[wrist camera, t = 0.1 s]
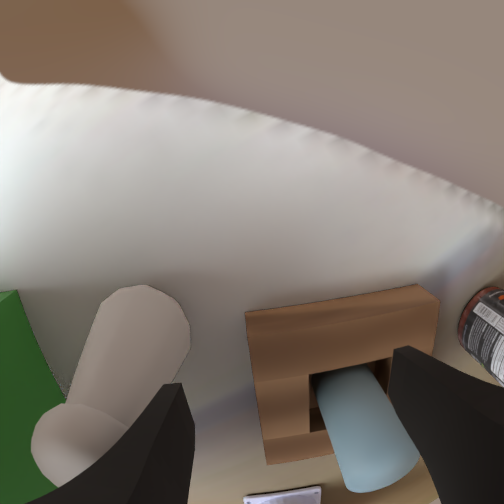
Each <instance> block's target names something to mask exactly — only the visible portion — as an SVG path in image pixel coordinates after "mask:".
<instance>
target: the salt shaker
mask: <svg viewBox="0 0 504 504" xmlns="http://www.w3.org/2000/svg"><path fill="white" fill-rule="evenodd" d="M190 349H191V339H190V325H189V322H188V320H187V318H186V316H185V314H184V312H183V310H182V308H181V306H180V305H179V304H178V302H177V301H176V300H175V299H174V298H172V297H170V296H168V295H166V294H164V293H163V292H162V291H159V290H157V289H155V288H153V287H151V286H149V285H137V286H131V287H125V288H120V289H118V290H117V291H115V292H114V293H113V294H111V295H110V296H109V297H108V298H106V299H105V300H104V301H102V302H101V304H100V307H99V309H98V311H97V314H96V317H95V319H94V322H93V324H92V327H91V329H90V332H89V335H88V337H87V340H86V343H85V345H84V348H83V351H82V354H81V357H80V359H79V362H78V365H77V368H76V371H75V374H74V377H73V380H72V383H71V386H70V390H69V393H68V396H67V399H66V403H65V404H62V403H61V404H59V405H58V406H56V407H54V408H52V409H51V410H49V411H47V412H46V413H44V414H43V415H42V417H41V418H40V420H39V421H38V422H37V424H36V426H35V429H34V432H33V436H32V439H31V453H32V455H33V458H34V460H35V462H36V464H37V466H38V467H39V469H40V471H41V472H42V474H43V475H44V476H45V477H47V478H48V479H49V480H50V481H51V482H52V483H53V484H54V485H56V486H57V487H58V488H59V487H60V486H62V485H64V484H65V483H67V482H69V481H70V480H72V479H73V478H75V477H76V476H77V475H79V474H80V473H81V472H83V471H84V470H86V469H87V468H88V467H90V466H91V465H92V464H93V463H95V462H96V461H97V460H98V459H99V458H100V457H102V456H103V455H104V454H105V453H106V452H107V451H108V450H109V449H110V448H111V447H112V446H113V445H114V444H115V443H116V442H117V441H118V440H119V439H120V438H121V437H122V436H123V434H124V433H125V432H126V431H127V430H128V429H129V428H130V427H131V425H132V424H133V423H134V422H135V420H136V419H137V418H138V417H139V415H140V414H141V413H142V412H143V410H144V409H145V408H146V406H147V405H148V404H149V402H150V401H151V400H152V398H153V397H154V396H155V394H156V393H157V392H158V390H159V389H160V388H161V387H162V385H163V384H171V383H172V381H173V379H174V378H175V376H176V374H177V372H178V370H179V369H180V367H181V365H182V363H183V361H184V360H185V358H186V356H187V354H188V353H189V351H190Z"/></svg>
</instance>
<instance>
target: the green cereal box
mask: <svg viewBox="0 0 504 504" xmlns="http://www.w3.org/2000/svg"><path fill="white" fill-rule="evenodd" d="M61 403H62V404H65V403H66V399H65V397H64V396H63V394H62V392H61V390H60V388H59V386H58V384H57V383H56V381H55V379H54V377H53V375H52V373H51V371H50V369H49V367H48V365H47V363H46V361H45V358H44V356H43V354H42V352H41V350H40V348H39V345H38V343H37V341H36V339H35V336H34V334H33V331H32V329H31V327H30V324H29V322H28V319H27V317H26V314H25V312H24V309H23V306H22V304H21V301H20V298H19V295H18V292H17V290H12V291H6V292H0V504H25V503H27V502H30V501H32V500H34V499H37V498H39V497H41V496H43V495H46V494H48V493H49V492H51V491H53V490H55V489H57V488H58V487H57V486H56V485H54V484H53V483H52V482H51V481H50V480H49V479H48V478H47V477H45V476H44V475H43V474H42V472H41V471H40V469H39V467H38V466H37V464H36V462H35V460H34V458H33V455H32V453H31V439H32V436H33V432H34V429H35V426H36V424H37V422H38V421H39V420H40V418H41V417H42V415H43V414H44V413H46V412H47V411H49V410H51V409H52V408H54V407H56V406H58V405H59V404H61Z"/></svg>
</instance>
